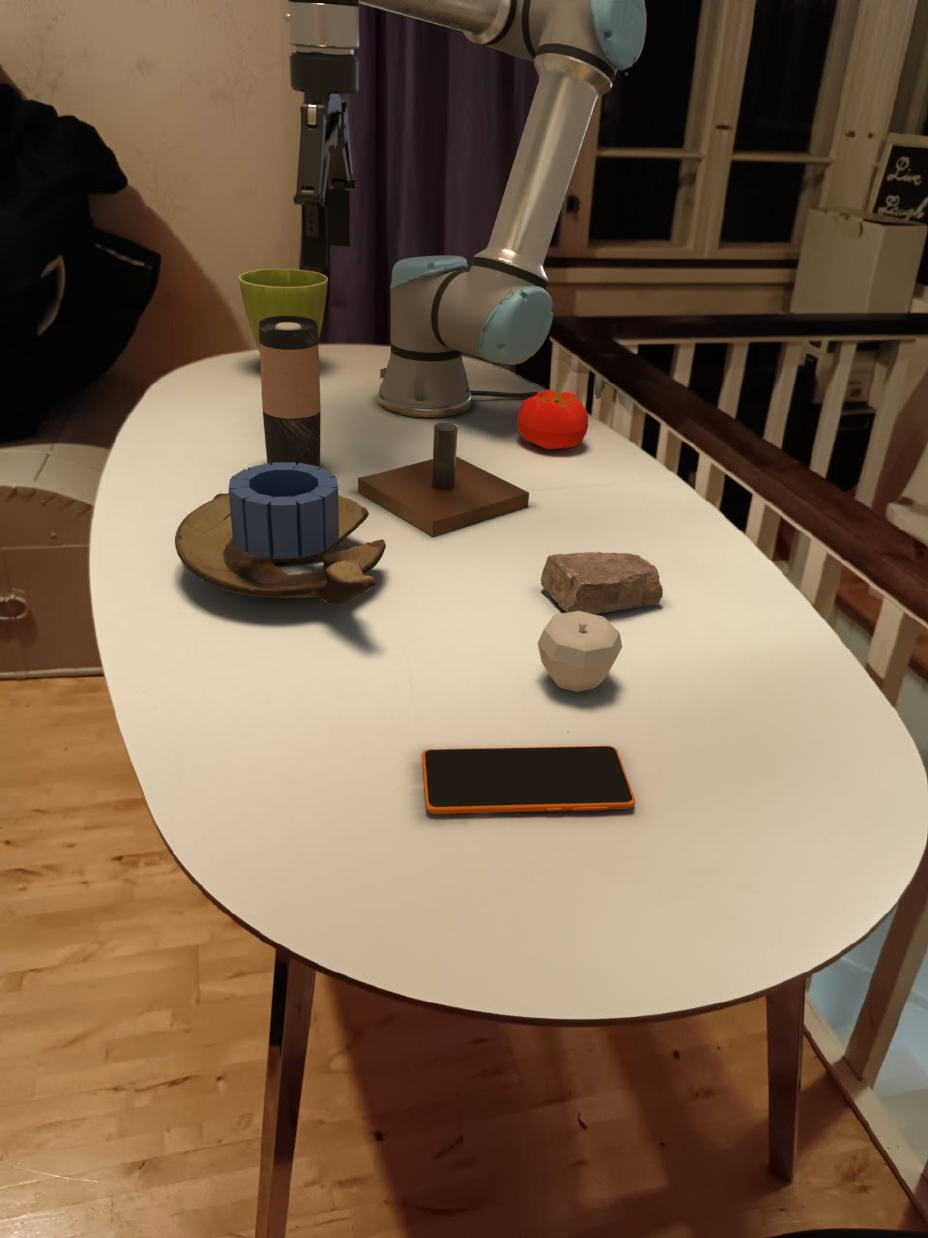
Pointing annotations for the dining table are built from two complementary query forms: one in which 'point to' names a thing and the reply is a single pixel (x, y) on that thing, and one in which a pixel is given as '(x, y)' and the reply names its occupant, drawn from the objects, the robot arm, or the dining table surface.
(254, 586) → the brown shallow round piece
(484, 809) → the smartphone
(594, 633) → the apple
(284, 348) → the travel mug
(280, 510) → the ring
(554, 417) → the tomato
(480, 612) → the dining table surface
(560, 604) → the stone
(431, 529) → the platform
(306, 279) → the flower pot
